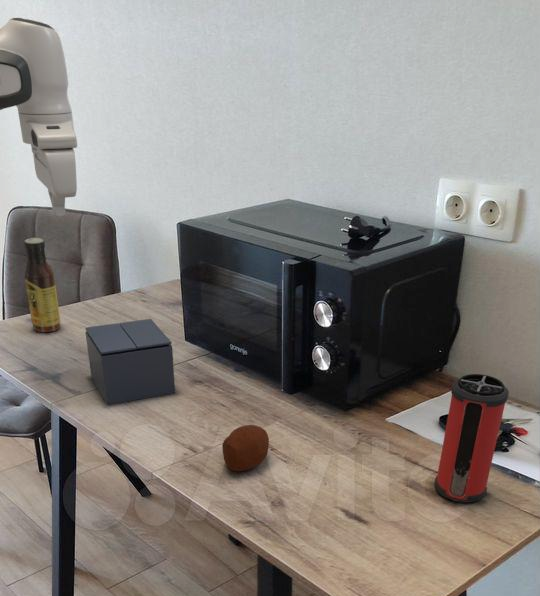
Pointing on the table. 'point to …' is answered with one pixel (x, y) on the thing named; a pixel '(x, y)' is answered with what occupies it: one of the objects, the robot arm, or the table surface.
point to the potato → (245, 447)
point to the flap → (110, 338)
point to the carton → (134, 365)
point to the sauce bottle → (41, 288)
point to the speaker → (470, 437)
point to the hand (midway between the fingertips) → (59, 214)
